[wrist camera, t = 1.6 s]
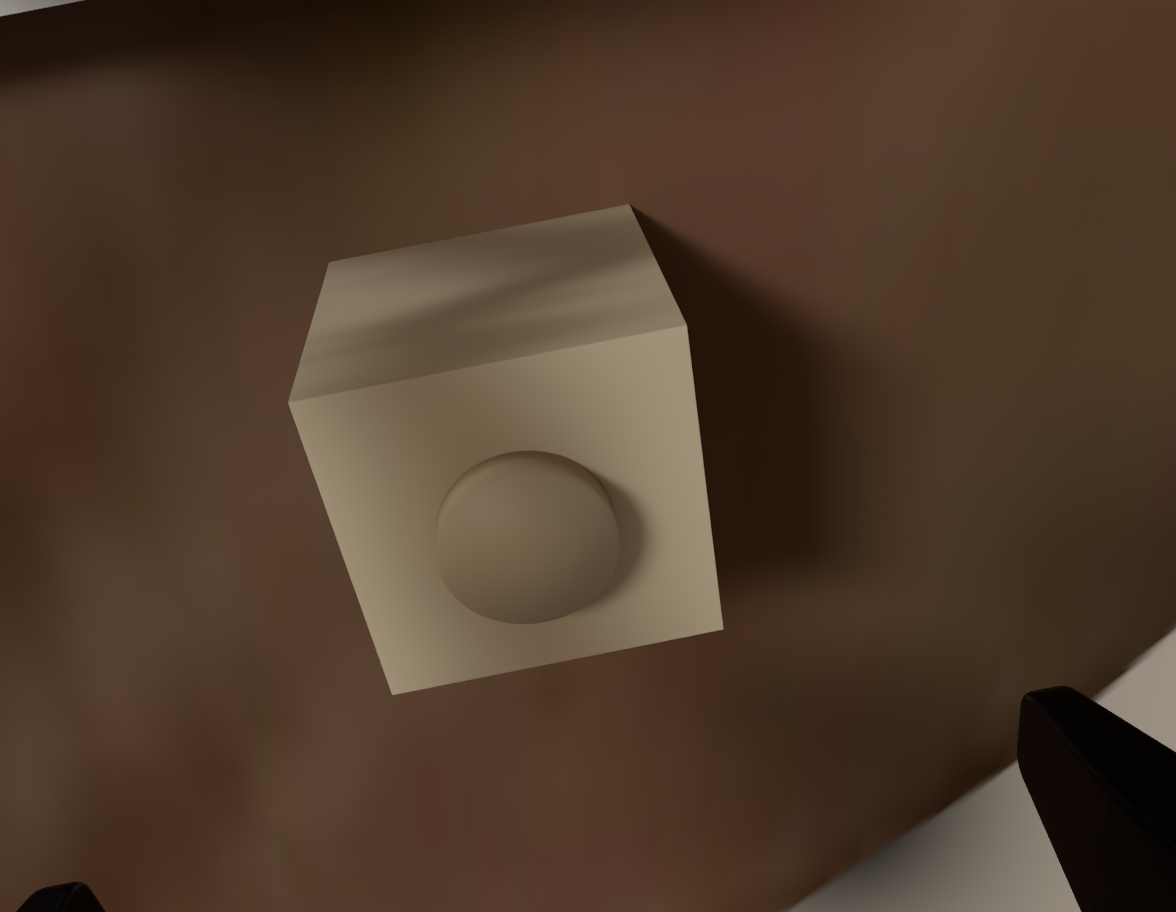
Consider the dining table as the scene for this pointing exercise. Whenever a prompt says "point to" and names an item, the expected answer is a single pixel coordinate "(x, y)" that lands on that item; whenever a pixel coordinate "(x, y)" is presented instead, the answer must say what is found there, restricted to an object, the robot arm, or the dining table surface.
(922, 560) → the dining table surface
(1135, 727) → the robot arm
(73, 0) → the grey square base plate
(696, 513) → the snap block
